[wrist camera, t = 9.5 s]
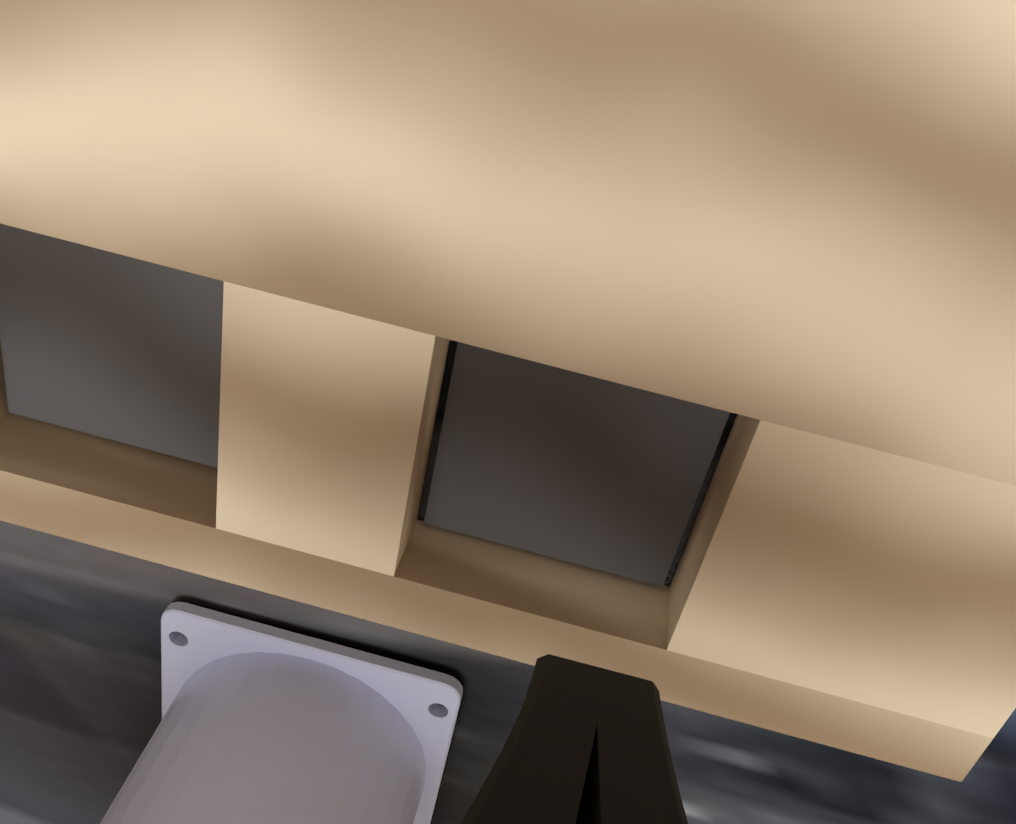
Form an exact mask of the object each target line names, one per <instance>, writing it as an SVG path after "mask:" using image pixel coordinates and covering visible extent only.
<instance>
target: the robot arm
mask: <svg viewBox="0 0 1016 824" xmlns="http://www.w3.org/2000/svg"><path fill="white" fill-rule="evenodd" d="M161 684H162V721H161V722H160V724H159V726H158V727H157V729H156V731H155V732H154V734H153V736H152V737H151V739H150V741H149V742H148V744H147V746H146V747H145V749H144V751H143V752H142V754H141V756H140V757H139V759H138V761H137V762H136V764H135V766H134V767H133V769H132V771H131V772H130V774H129V776H128V777H127V779H126V781H125V782H124V784H123V786H122V787H121V789H120V791H119V792H118V794H117V796H116V797H115V799H114V801H113V802H112V804H111V806H110V807H109V809H108V811H107V812H106V814H105V816H104V817H103V819H102V821H101V822H100V824H430V823H431V819H432V815H433V811H434V807H435V803H436V799H437V795H438V791H439V787H440V783H441V779H442V775H443V771H444V767H445V763H446V759H447V755H448V751H449V747H450V743H451V739H452V734H453V730H454V726H455V722H456V718H457V714H458V710H459V706H460V702H461V698H462V694H463V687H462V685H461V683H460V682H459V681H458V680H457V679H456V678H454V677H453V676H450V675H448V674H445V673H441V672H438V671H434V670H430V669H427V668H423V667H419V666H416V665H412V664H408V663H405V662H401V661H397V660H394V659H390V658H386V657H383V656H379V655H375V654H372V653H368V652H365V651H361V650H357V649H354V648H350V647H346V646H343V645H339V644H335V643H332V642H328V641H324V640H321V639H317V638H313V637H310V636H306V635H302V634H299V633H295V632H291V631H288V630H284V629H280V628H277V627H273V626H270V625H266V624H262V623H259V622H255V621H251V620H248V619H244V618H240V617H237V616H233V615H229V614H226V613H222V612H218V611H215V610H211V609H207V608H204V607H200V606H196V605H193V604H189V603H185V602H174V603H171V604H170V605H169V606H168V607H167V608H166V610H165V611H164V612H163V614H162V617H161ZM436 703H438V704H441V705H438V704H436ZM442 705H444V706H442ZM460 824H688V822H687V819H686V815H685V811H684V807H683V804H682V800H681V796H680V792H679V788H678V784H677V780H676V776H675V772H674V768H673V763H672V759H671V754H670V750H669V745H668V740H667V735H666V730H665V725H664V719H663V714H662V708H661V701H660V694H659V690H658V688H657V687H656V685H655V684H654V683H653V681H650V680H646V679H642V678H638V677H634V676H631V675H627V674H623V673H619V672H615V671H612V670H608V669H604V668H600V667H596V666H592V665H589V664H585V663H581V662H577V661H573V660H570V659H566V658H562V657H558V656H554V655H551V654H548V655H545V656H542V657H540V658H537V661H536V664H535V668H534V671H533V675H532V678H531V682H530V685H529V689H528V692H527V696H526V699H525V701H524V704H523V706H522V709H521V711H520V713H519V716H518V718H517V720H516V723H515V725H514V727H513V729H512V731H511V733H510V735H509V737H508V739H507V741H506V744H505V746H504V748H503V750H502V752H501V753H500V755H499V757H498V759H497V761H496V762H495V764H494V766H493V768H492V770H491V771H490V773H489V775H488V777H487V779H486V781H485V782H484V784H483V786H482V788H481V790H480V791H479V793H478V795H477V797H476V799H475V800H474V802H473V804H472V805H471V807H470V809H469V810H468V812H467V814H466V815H465V817H464V819H463V820H462V822H461V823H460Z"/></svg>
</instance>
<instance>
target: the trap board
mask: <svg viewBox="0 0 1016 824" xmlns="http://www.w3.org/2000/svg"><path fill="white" fill-rule="evenodd" d="M450 340H453V341H457V342H458V343H457V348H456V354H455V359H454V364H453V370H452V375H451V380H450V386H449V391H448V396H447V401H446V407H445V412H444V417H443V423H442V428H441V433H440V439H439V444H438V449H437V455H436V460H435V465H434V471H433V476H432V481H431V487H430V492H429V497H428V503H427V508H426V513H425V518H424V521H422V520H418V519H417V518H418V513H419V507H420V502H421V496H422V491H423V485H424V480H425V474H426V469H427V463H428V458H429V452H430V447H431V442H432V436H433V431H434V425H435V420H436V414H437V409H438V403H439V398H440V392H441V387H442V381H443V376H444V370H445V365H446V359H447V354H448V348H449V343H450ZM730 412H732V413H735V414H737V416H736V418H735V421H734V423H733V426H732V428H731V431H730V434H729V436H728V439H727V441H726V444H725V446H724V449H723V451H722V454H721V457H720V459H719V462H718V464H717V467H716V469H715V472H714V475H713V477H712V480H711V482H710V485H709V487H708V490H707V492H706V495H705V498H704V500H703V503H702V505H701V508H700V510H699V513H698V515H697V518H696V521H695V523H694V526H693V528H692V531H691V533H690V536H689V538H688V541H687V544H686V546H685V549H684V551H683V554H682V556H681V559H680V561H679V564H678V567H677V569H676V572H675V574H674V577H673V579H672V582H671V585H670V587H669V586H665V585H664V583H665V581H666V578H667V575H668V573H669V570H670V568H671V565H672V562H673V560H674V557H675V555H676V552H677V550H678V547H679V544H680V542H681V539H682V537H683V534H684V531H685V529H686V526H687V524H688V521H689V518H690V516H691V513H692V511H693V508H694V505H695V503H696V500H697V498H698V495H699V492H700V490H701V487H702V485H703V482H704V480H705V477H706V474H707V472H708V469H709V467H710V464H711V461H712V459H713V456H714V454H715V451H716V448H717V446H718V443H719V441H720V438H721V435H722V433H723V430H724V428H725V425H726V423H727V420H728V417H729V415H730ZM0 520H1V521H4V522H8V523H12V524H16V525H19V526H23V527H27V528H30V529H34V530H38V531H41V532H45V533H49V534H52V535H56V536H60V537H63V538H67V539H71V540H74V541H78V542H82V543H85V544H89V545H93V546H96V547H100V548H104V549H107V550H111V551H115V552H118V553H122V554H126V555H129V556H133V557H137V558H140V559H144V560H148V561H151V562H155V563H159V564H162V565H166V566H170V567H173V568H177V569H181V570H184V571H188V572H192V573H195V574H199V575H203V576H206V577H210V578H214V579H218V580H221V581H225V582H229V583H232V584H236V585H240V586H243V587H247V588H251V589H254V590H258V591H262V592H265V593H269V594H273V595H276V596H280V597H284V598H287V599H291V600H295V601H298V602H302V603H306V604H309V605H313V606H317V607H320V608H324V609H328V610H331V611H335V612H339V613H342V614H346V615H350V616H353V617H357V618H361V619H364V620H368V621H372V622H375V623H379V624H383V625H386V626H390V627H394V628H397V629H401V630H405V631H408V632H412V633H416V634H420V635H423V636H427V637H431V638H434V639H438V640H442V641H445V642H449V643H453V644H456V645H460V646H464V647H467V648H471V649H475V650H478V651H482V652H486V653H489V654H493V655H497V656H500V657H504V658H508V659H511V660H515V661H519V662H522V663H526V664H530V665H533V666H535V664H536V661H537V658H540V657H542V656H545V655H548V654H551V655H554V656H558V657H562V658H566V659H570V660H573V661H577V662H581V663H585V664H589V665H592V666H596V667H600V668H604V669H608V670H612V671H615V672H619V673H623V674H627V675H631V676H634V677H638V678H642V679H646V680H650V681H653V683H654V684H655V685H656V687H657V688H658V690H659V694H660V700H662V701H666V702H669V703H673V704H677V705H680V706H684V707H688V708H691V709H695V710H699V711H702V712H706V713H710V714H713V715H717V716H721V717H724V718H728V719H732V720H735V721H739V722H743V723H746V724H750V725H754V726H757V727H761V728H765V729H768V730H772V731H776V732H779V733H783V734H787V735H790V736H794V737H798V738H801V739H805V740H809V741H813V742H816V743H820V744H824V745H827V746H831V747H835V748H838V749H842V750H846V751H849V752H853V753H857V754H860V755H864V756H868V757H871V758H875V759H879V760H882V761H886V762H890V763H893V764H897V765H901V766H904V767H908V768H912V769H915V770H919V771H923V772H926V773H930V774H934V775H937V776H941V777H945V778H948V779H952V780H956V781H959V782H962V780H963V779H964V778H965V776H966V775H967V774H968V772H969V771H970V770H971V768H972V767H973V765H974V764H975V763H976V761H977V760H978V759H979V757H980V756H981V755H982V753H983V752H984V750H985V749H986V748H987V746H988V745H989V744H990V742H991V741H992V740H993V738H994V737H995V735H996V734H997V733H998V731H999V730H1000V729H1001V727H1002V726H1003V725H1004V723H1005V722H1006V720H1007V719H1008V718H1009V716H1010V715H1011V714H1012V712H1013V711H1014V709H1015V708H1016V0H0Z"/></svg>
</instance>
